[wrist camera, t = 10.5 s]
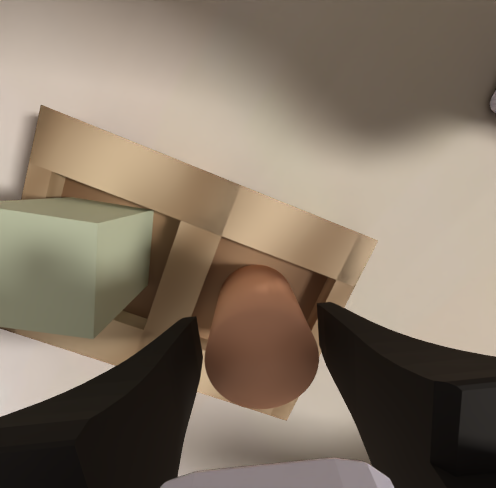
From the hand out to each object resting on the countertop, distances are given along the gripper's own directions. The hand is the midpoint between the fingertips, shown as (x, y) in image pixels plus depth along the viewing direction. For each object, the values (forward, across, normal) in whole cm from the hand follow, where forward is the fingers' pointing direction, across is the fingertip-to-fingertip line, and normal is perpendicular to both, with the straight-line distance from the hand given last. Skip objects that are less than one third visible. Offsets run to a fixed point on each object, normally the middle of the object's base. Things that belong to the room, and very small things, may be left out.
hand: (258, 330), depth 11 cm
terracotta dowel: (+3, 0, 0) cm, 3 cm away
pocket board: (+4, +4, -2) cm, 6 cm away
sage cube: (+3, +7, -4) cm, 9 cm away
